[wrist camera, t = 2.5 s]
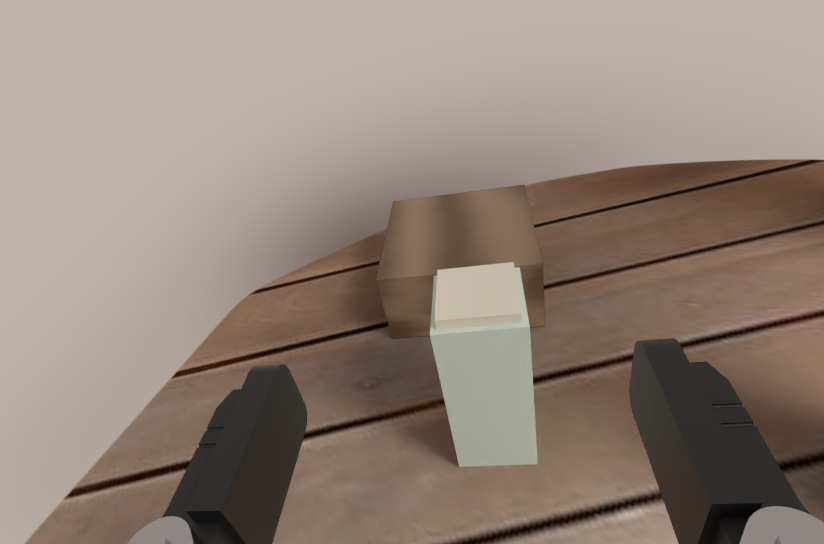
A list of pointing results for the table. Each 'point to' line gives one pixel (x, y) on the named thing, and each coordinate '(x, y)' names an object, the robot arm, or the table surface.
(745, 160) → the table surface
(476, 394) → the sage tin
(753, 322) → the table surface
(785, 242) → the table surface
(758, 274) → the table surface
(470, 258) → the walnut block
